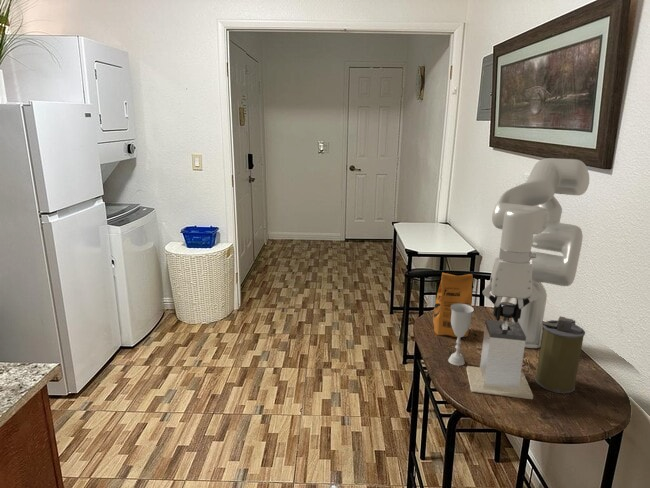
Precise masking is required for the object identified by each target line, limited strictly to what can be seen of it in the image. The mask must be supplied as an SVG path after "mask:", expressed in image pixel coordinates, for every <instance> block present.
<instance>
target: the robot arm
mask: <svg viewBox="0 0 650 488" xmlns="http://www.w3.org/2000/svg"><path fill="white" fill-rule="evenodd" d="M525 181H526V182H524V183H521V184H519V185H516V186H513V187H511V188H510V189H508V190H506V191H504V193H502V195H500V197H499V199H498V201H497V203H496V204H495V207H494V209H493V211H492V216H491V221H492V224H493V226H494V227H495V228H496V229H499V230H501V237H500V238H501V239H500V246H499V255H498V257H496V258H495V260H494V262H493V265H492V269H491V274H490V279H489V283H488V284H487V286H486V287H485V288H484V289H483V290H482V295H483V296H484V297H485V298H487V299H489V301H490V302H491V303H492V304H493V313H492V314H493V315H492V316H493V317H495V321H501V316H500V314H501V306H500V303H501V302H502V299H503V298H512V299H514V303H513V304H515V305H516V310H515V317H513V318H511V319H512V320H511V322H516V323H519V324H520V326H521V328H522V330H523V332H524V334H525V336H526V341H525V348H527V349H537V348H539V349H540V346H541V339H542V333H543V324H542V325H541V323H542V321H543V322H544V317H545V311H546V304H547V295H548V294H547V290H546V288H545V287H544V285H543V284H544V283H545V284H548V285H549V284H550V285H555V286H560V287H569V286H572V284H573V283H574V281H575V278H576V274H577V270H578V269H577V268H578V264H579V259H580V255H581V254H580V253H581V250H582V249H581V248H582V245H583V238H584V237H583V231H582V229H581V227H580V226H578V225H575V224H569V223H563V222H561V217H562V213H563V208H562V206H561V203H560V202H559V201H558V199H557V198H556V196H555V194H556V195H566V196H582V195H584V194H585V193H586V192H587V190H588V188H589V185H590V173H589V170H588V167H587V165H586V163H584V162H583V161H582V160H580V159H575V158H574V159H573V158H555V157H554V158H553V157H548V158H543V159H539V160H538V161H537V162H536V163H535V164H534V166H533V167H532V169H531V171H530V173H529V176H528V178H527V180H525ZM532 248H535V249H538V250H542V251H544V250H545V251H550V252H556V253H561V254H562V255H557V254H550V253H545V252H540V251H533V250H532ZM540 329H541V331H540ZM539 335H540V337H539ZM538 341H539V344H538Z"/></svg>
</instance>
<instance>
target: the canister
mask: <svg viewBox="0 0 650 488" xmlns="http://www.w3.org/2000/svg"><path fill="white" fill-rule="evenodd" d="M541 325H542V330H543V333H542V339H541V346H540V348H539V349H538V348H536V351H538V350H539V353H536V354H535V355H536V356H535V357H537V354H538V359H537V365H536V373H535V376H534V381H535V383H537V385H538V386H540V387H542V388H543V389H545V390H547V391H549V392H554V393H557V394H570V393H573V392H574V391H575V389H576V379H577V374H578V369H579V364H580V359H581V353H582V347H583V342H584V336H585V335H586V331H585V330H584V329H583V327H580V326H578V325H577V324H576V320H575V319H572V318H568V317H565V316H559V317H558V320H546V321H544V320H543V321H542V323H541ZM540 331H541V329H540ZM539 337H540V335H539ZM538 344H539V341H538Z"/></svg>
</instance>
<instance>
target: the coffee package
mask: <svg viewBox="0 0 650 488" xmlns="http://www.w3.org/2000/svg"><path fill="white" fill-rule="evenodd" d="M473 276H474V275H473V273H470V274H463V275H455V274H450V273H447V272H446V273H445V272H442V273H441V280H440V283H439V287H438V289H437V293H436V299H435V304H434V308H433V314H432V317H433V318H432V323H433V327H434V328H433V331H434V333H435V334H436V335H437V336H450V337H453V338H457V336H456V335H455V334H454V331H453V329H452V325H451V314H452V310H451V305H452V304H457V303H459V304H466V305H469V306H471V307H472V302H473V282H474V277H473ZM469 332H470V328H469V329H468V330H467V332H466V333H465V335H464V336H463V337H468V336H469ZM463 337H462V338H463Z"/></svg>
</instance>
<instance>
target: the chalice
mask: <svg viewBox="0 0 650 488" xmlns="http://www.w3.org/2000/svg"><path fill="white" fill-rule="evenodd" d="M451 310H452V314H451V325H452V329H453V331H454V334H455V335H456V336H457V337H456V341H455V343H456V345H455V346H454V348H455V350H456V351H455V352H452V353H451V355H450V356H449V358H448V359H447V361H448V363H450V364H451V365H454V366H459V367H460V366H464V365H465V363H466V362H465V358H464V356H463V355H462V353H460V350H461V349H462V348H461V343H462V341H461V338H463V336H464V335H465V333H466V332H467V330H468V329H469V330H470V327H471V321H472V313H474V307H472V305H471V306H469V305H466V304H459V303H457V304H452V305H451Z"/></svg>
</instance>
